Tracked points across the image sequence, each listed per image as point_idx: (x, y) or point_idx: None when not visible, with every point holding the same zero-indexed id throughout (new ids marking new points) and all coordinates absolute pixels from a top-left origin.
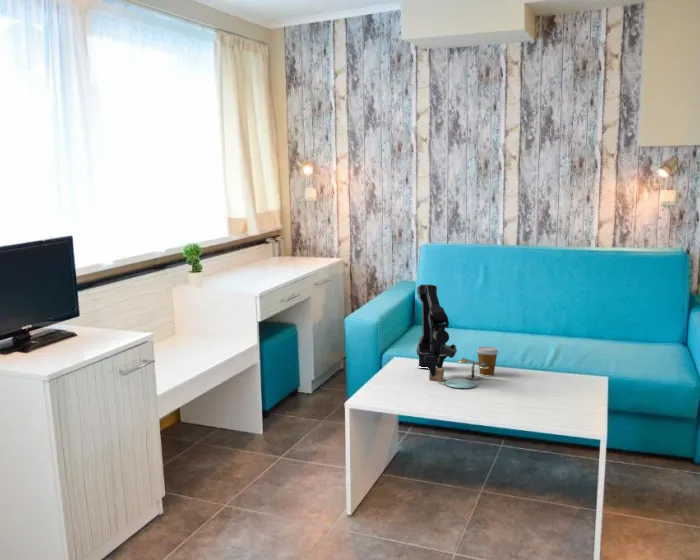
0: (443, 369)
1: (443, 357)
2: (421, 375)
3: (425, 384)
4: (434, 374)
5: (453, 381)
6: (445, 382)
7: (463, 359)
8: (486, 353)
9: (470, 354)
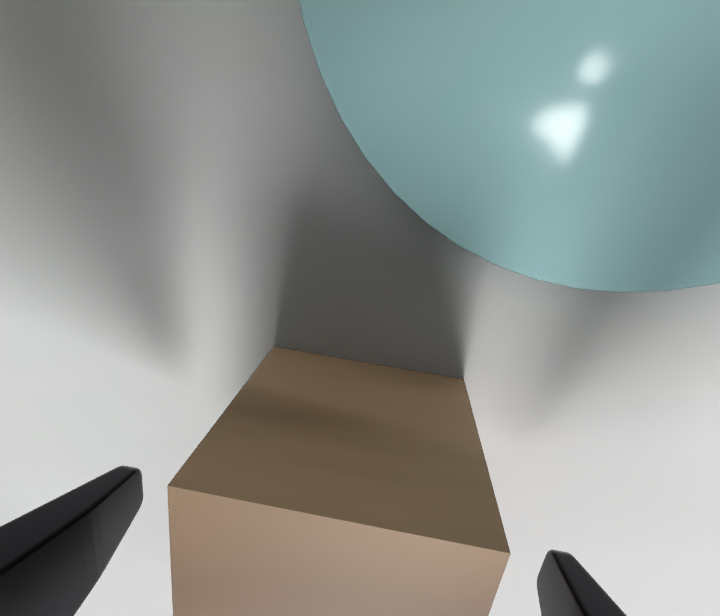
0: (207, 470)
1: None
2: None
3: (667, 559)
4: (604, 595)
5: (584, 114)
6: (696, 284)
7: None
8: None
9: None
